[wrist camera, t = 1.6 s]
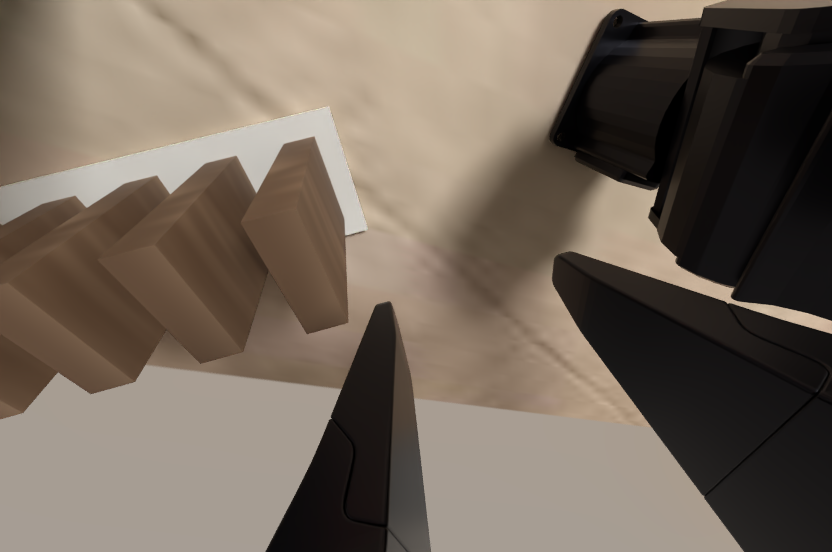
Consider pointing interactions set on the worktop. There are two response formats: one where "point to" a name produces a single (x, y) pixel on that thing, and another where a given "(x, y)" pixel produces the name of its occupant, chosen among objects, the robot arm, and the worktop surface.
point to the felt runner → (196, 166)
